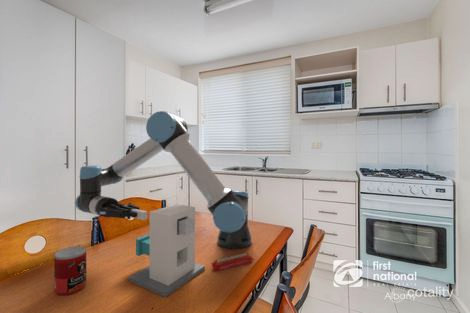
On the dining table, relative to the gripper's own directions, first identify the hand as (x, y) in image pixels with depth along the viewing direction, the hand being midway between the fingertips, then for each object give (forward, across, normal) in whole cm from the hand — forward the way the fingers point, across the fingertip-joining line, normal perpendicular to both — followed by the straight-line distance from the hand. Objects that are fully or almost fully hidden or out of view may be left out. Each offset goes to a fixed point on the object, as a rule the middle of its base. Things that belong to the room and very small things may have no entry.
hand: (145, 215), depth 83 cm
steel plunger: (+13, 0, -3) cm, 14 cm away
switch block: (+11, 0, -18) cm, 21 cm away
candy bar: (+26, -17, -18) cm, 36 cm away
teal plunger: (+5, 0, -13) cm, 14 cm away
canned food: (-8, +20, -18) cm, 28 cm away
